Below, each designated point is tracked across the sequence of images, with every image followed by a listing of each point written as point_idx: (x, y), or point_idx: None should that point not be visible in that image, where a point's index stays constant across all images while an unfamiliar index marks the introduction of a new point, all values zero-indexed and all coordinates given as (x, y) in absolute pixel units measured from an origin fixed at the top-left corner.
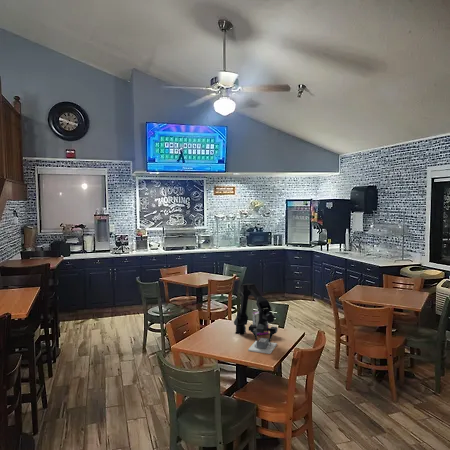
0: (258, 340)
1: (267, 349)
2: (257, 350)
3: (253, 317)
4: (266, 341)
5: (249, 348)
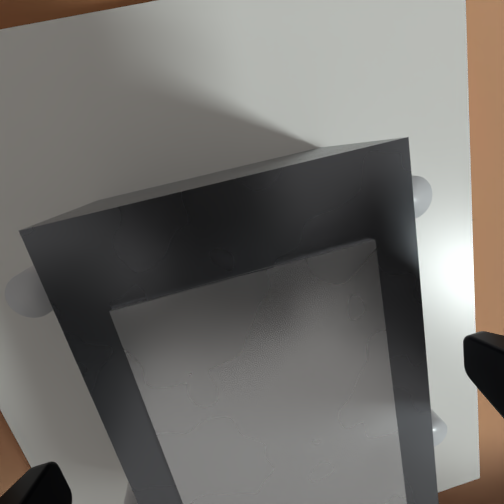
0: (409, 345)
1: None
2: (224, 3)
3: None
4: (116, 433)
5: (456, 30)
